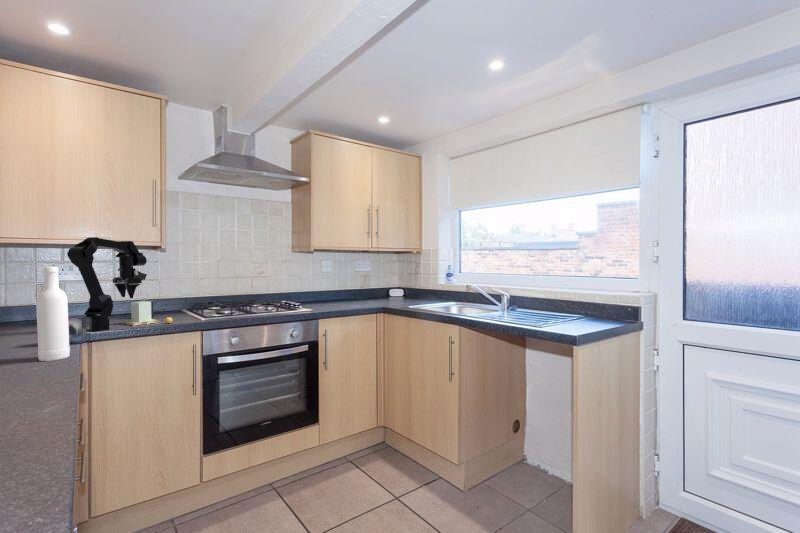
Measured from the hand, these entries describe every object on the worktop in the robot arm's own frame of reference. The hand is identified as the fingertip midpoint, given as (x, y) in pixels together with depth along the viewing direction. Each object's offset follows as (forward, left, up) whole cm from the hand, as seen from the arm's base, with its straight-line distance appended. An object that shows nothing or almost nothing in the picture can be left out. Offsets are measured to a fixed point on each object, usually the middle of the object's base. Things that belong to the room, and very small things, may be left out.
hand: (127, 297), depth 202 cm
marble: (+11, -18, -13) cm, 25 cm away
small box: (-33, -32, -13) cm, 48 cm away
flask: (+13, +14, -13) cm, 23 cm away
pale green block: (+4, -5, -12) cm, 13 cm away
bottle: (-44, -58, -13) cm, 73 cm away
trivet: (+4, -5, -13) cm, 14 cm away
